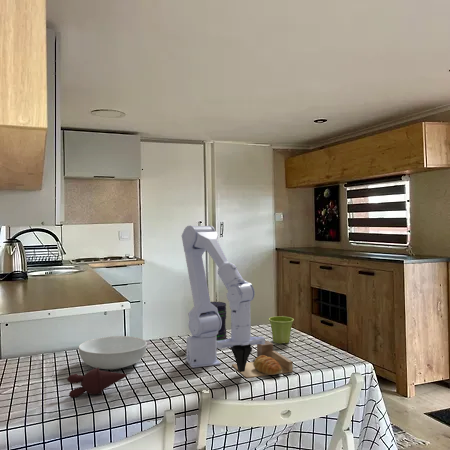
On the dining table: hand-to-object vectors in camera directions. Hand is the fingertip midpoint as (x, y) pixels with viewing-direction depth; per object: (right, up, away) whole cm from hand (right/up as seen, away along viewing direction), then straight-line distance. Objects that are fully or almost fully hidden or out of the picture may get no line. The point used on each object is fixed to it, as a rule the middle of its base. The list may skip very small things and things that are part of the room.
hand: (241, 370), depth 128 cm
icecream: (-38, -2, -13) cm, 41 cm away
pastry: (+8, -1, +3) cm, 9 cm away
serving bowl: (-40, -2, +10) cm, 41 cm away
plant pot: (+16, -2, +36) cm, 40 cm away
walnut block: (+8, -1, +17) cm, 19 cm away
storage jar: (-9, -2, +34) cm, 35 cm away
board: (+6, -1, +6) cm, 9 cm away
